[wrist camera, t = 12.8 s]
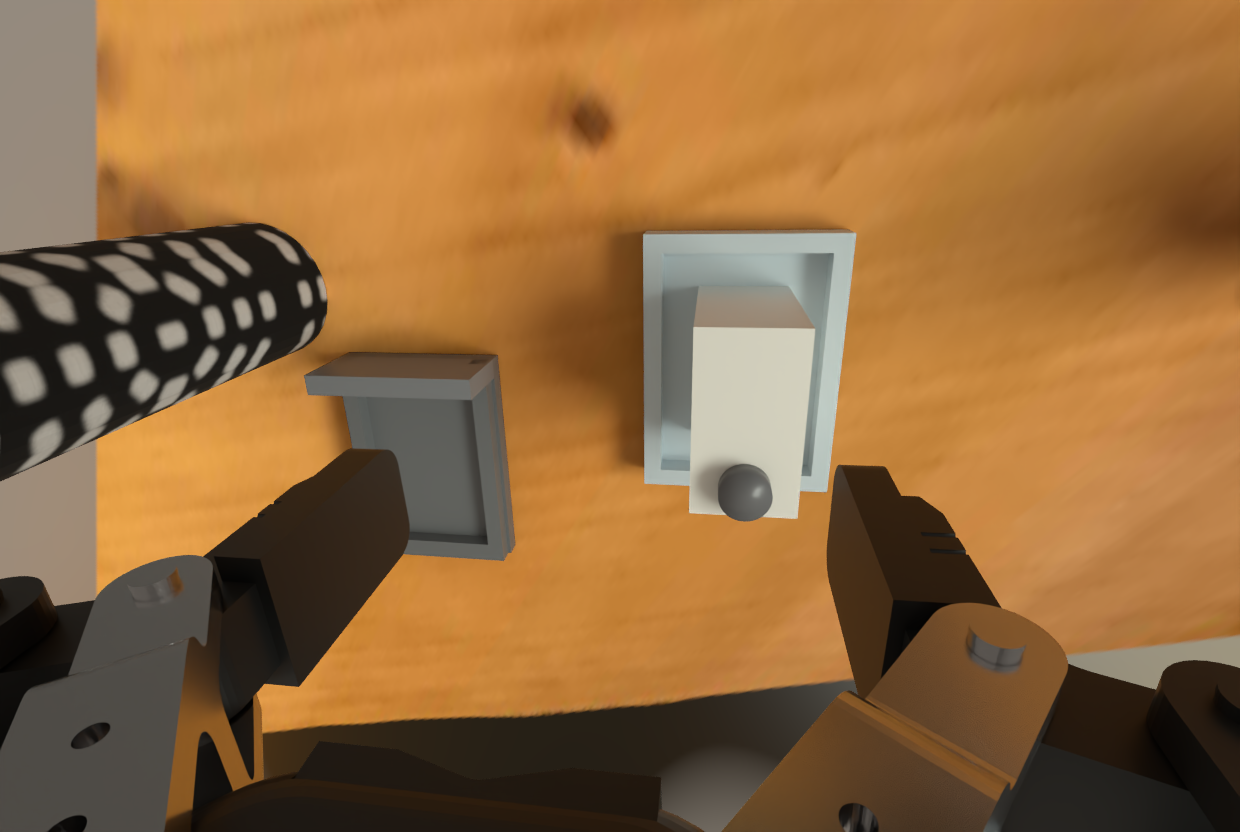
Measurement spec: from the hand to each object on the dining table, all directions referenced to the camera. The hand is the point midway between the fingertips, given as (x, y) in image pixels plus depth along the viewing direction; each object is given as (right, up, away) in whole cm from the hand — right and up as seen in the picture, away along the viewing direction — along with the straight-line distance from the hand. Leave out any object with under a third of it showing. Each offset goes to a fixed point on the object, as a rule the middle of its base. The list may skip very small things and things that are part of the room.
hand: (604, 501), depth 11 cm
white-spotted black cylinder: (-22, +10, +29) cm, 38 cm away
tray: (+7, +5, +26) cm, 28 cm away
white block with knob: (+7, +5, +26) cm, 27 cm away
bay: (-12, -1, +31) cm, 34 cm away
